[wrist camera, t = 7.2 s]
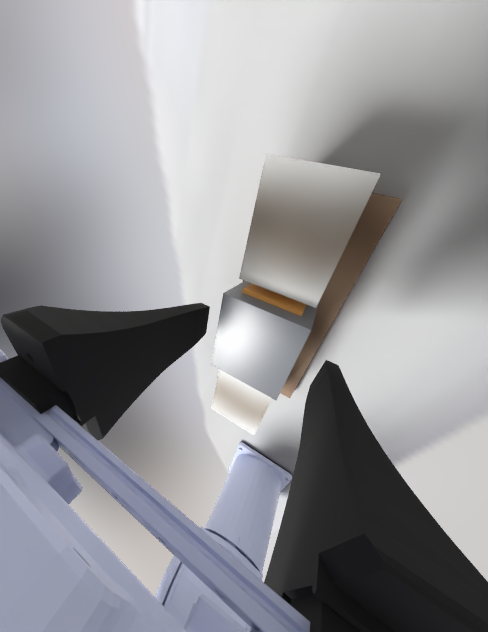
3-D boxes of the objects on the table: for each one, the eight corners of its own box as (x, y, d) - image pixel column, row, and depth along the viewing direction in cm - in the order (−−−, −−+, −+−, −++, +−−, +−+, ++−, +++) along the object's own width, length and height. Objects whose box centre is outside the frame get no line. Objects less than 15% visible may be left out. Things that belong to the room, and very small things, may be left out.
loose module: (295, 348, 15) (276, 400, 10) (246, 326, 16) (211, 364, 12) (322, 289, 12) (313, 326, 8) (262, 268, 13) (224, 289, 9)
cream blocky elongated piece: (291, 390, 19) (274, 450, 14) (228, 357, 21) (193, 399, 16) (397, 201, 10) (453, 176, 5) (272, 175, 12) (226, 139, 7)
